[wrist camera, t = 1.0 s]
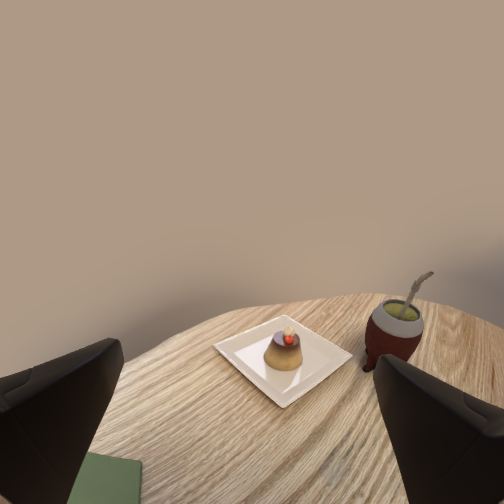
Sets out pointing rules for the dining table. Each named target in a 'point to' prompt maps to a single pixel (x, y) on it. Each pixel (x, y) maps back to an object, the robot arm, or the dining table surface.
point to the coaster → (107, 481)
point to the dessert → (283, 358)
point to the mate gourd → (394, 328)
